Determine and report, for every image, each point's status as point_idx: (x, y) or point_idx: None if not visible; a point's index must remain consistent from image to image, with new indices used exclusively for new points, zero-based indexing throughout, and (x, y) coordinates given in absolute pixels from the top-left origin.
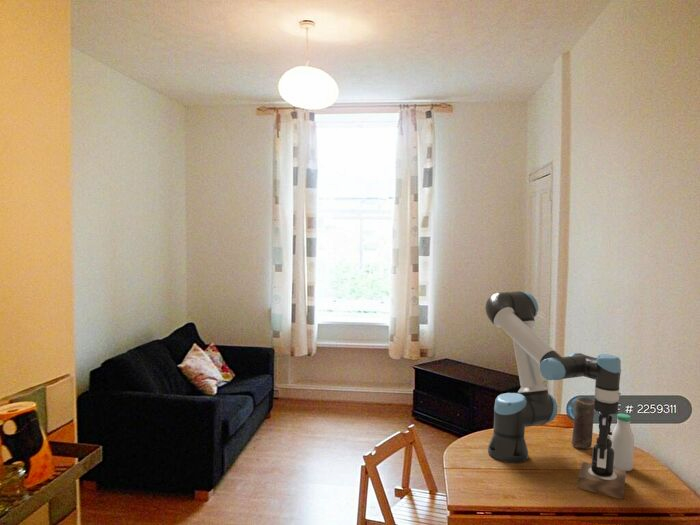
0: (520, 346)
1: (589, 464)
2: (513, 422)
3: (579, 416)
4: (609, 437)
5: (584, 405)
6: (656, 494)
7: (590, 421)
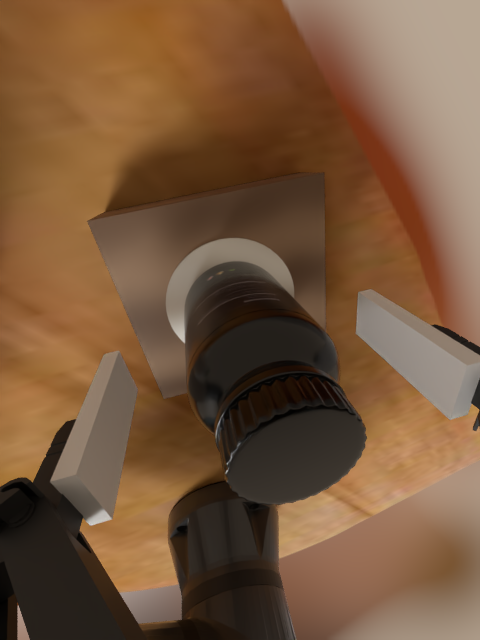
0: None
1: (170, 373)
2: None
3: None
4: (82, 463)
5: None
6: (103, 4)
7: None
